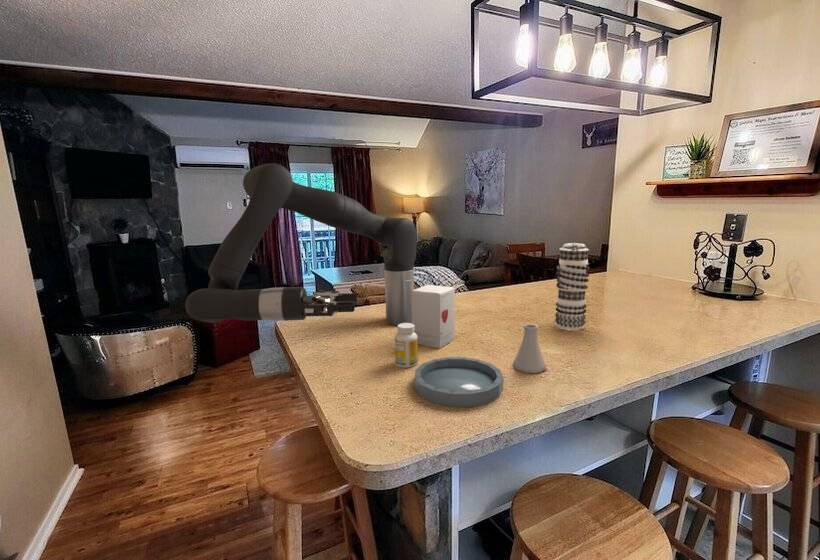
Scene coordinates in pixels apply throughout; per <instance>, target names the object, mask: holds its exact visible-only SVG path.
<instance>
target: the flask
mask: <svg viewBox="0 0 820 560" xmlns="http://www.w3.org/2000/svg"><path fill="white" fill-rule="evenodd" d="M522 327H523V331H524V332H523V333H524V334H523V336H522V337H523V338H522V342H521V343H520V347H519V348H518V351H517V353H516V355H515V357H514V360H513V362H512V366H513V367H514V368H515V370H518V371H520V372H523V373H525V374H536V373H537V374H539V373H542V372H543V371H544V372H545V371H546V370H547V365H546V363H545V361H544V357H543V355H542V351H541V349H540V348H541V347H540V345H539V341H538V330H539V326H538V325H537V324H534V323H525V324H523V325H522Z"/></svg>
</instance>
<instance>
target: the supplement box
mask: <svg viewBox="0 0 820 560" xmlns="http://www.w3.org/2000/svg"><path fill="white" fill-rule="evenodd" d="M455 289H456V288H455V287H451V286H443V285H436V284H435V285H433V284H426V285H423V286H420V287H418V288H414V290H412V324H414V327H415V330H414V333H416V335H417V345H421V346H425V347H431V348H436V349H439V350H440V349H441V348H443V347H444V346H446V345H447V344H449V343H451V342H453V341H454V340H455V332H456V331H455V327H456V326H455V321H456V320H455V318H456V317H455V312H456V311H455V308H456V307H455V306H456V305H455V304H456V303H455V301H456V300H455V296H456V295H455V293H456V290H455Z"/></svg>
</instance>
